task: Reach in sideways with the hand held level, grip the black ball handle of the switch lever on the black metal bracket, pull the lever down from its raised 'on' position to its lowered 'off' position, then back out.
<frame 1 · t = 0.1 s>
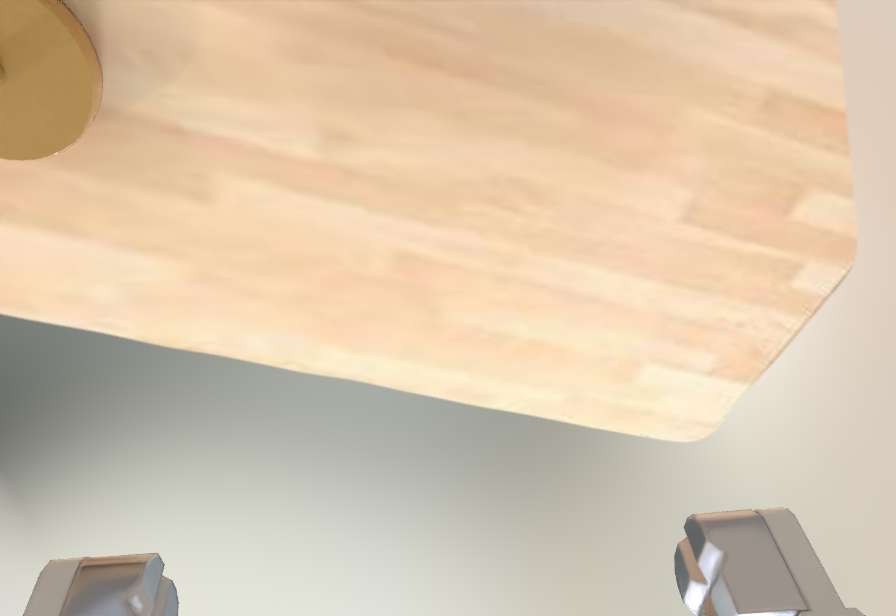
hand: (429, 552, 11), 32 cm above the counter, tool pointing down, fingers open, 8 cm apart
desk lamp: (0, 61, 37), on the counter
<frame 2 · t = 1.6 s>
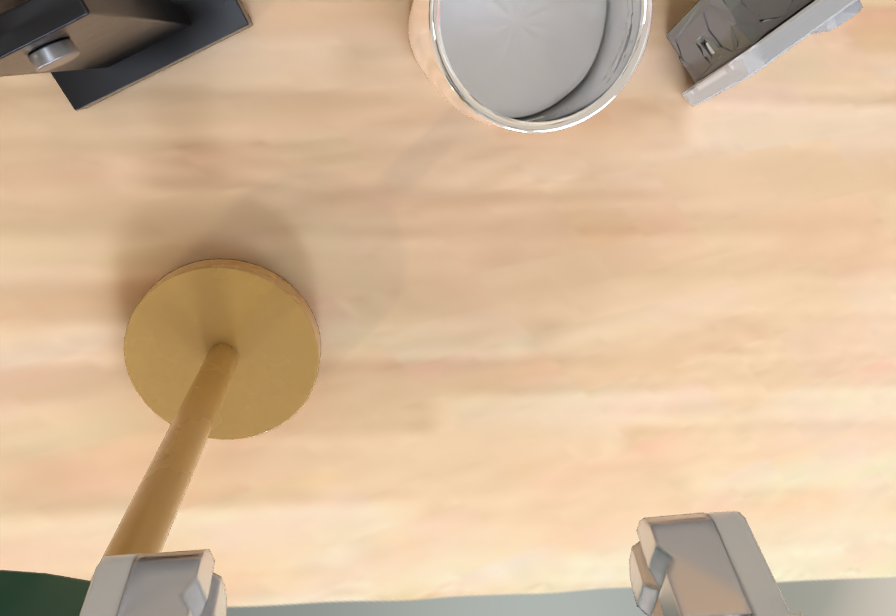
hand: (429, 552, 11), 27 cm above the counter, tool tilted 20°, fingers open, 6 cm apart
beer glass: (470, 29, 34), on the counter
electrical switch: (733, 9, 35), on the counter
desk lamp: (228, 346, 38), on the counter
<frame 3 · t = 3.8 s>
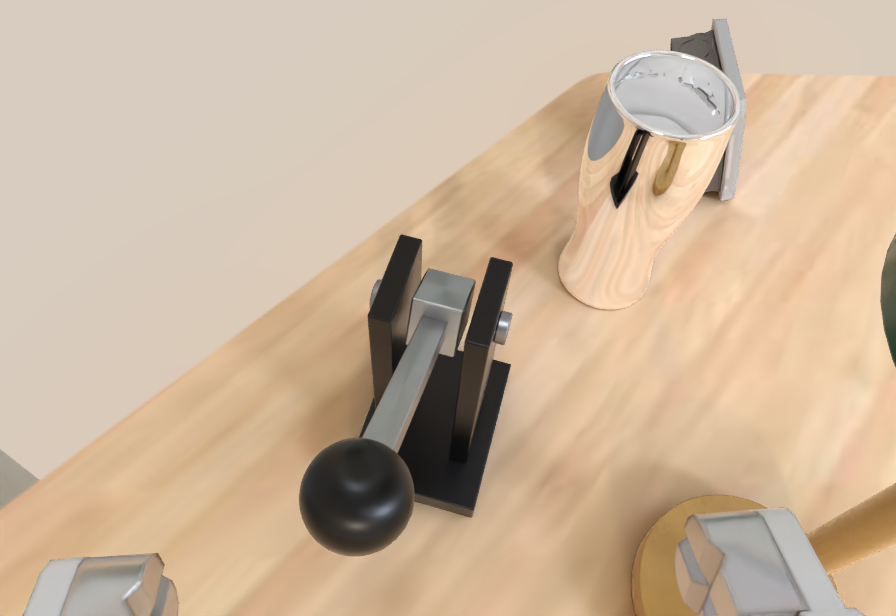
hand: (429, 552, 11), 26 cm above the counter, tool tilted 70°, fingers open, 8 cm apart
switch lever: (405, 389, 25), point 14 cm above the counter, hinge at 25.0°
beer glass: (602, 274, 47), on the counter
electrical switch: (686, 161, 53), on the counter
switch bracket: (432, 425, 40), on the counter
desk lamp: (728, 600, 36), on the counter
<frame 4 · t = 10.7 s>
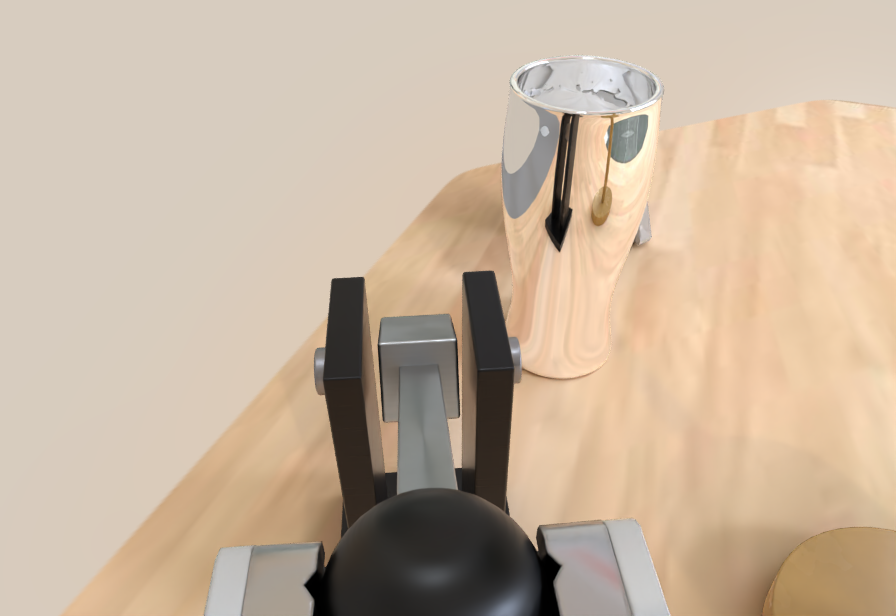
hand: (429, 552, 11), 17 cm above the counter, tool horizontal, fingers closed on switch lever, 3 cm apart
switch lever: (424, 448, 15), point 14 cm above the counter, hinge at 25.0°, touching gripper
beer glass: (555, 344, 40), on the counter
electrical switch: (586, 222, 50), on the counter
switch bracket: (429, 579, 28), on the counter
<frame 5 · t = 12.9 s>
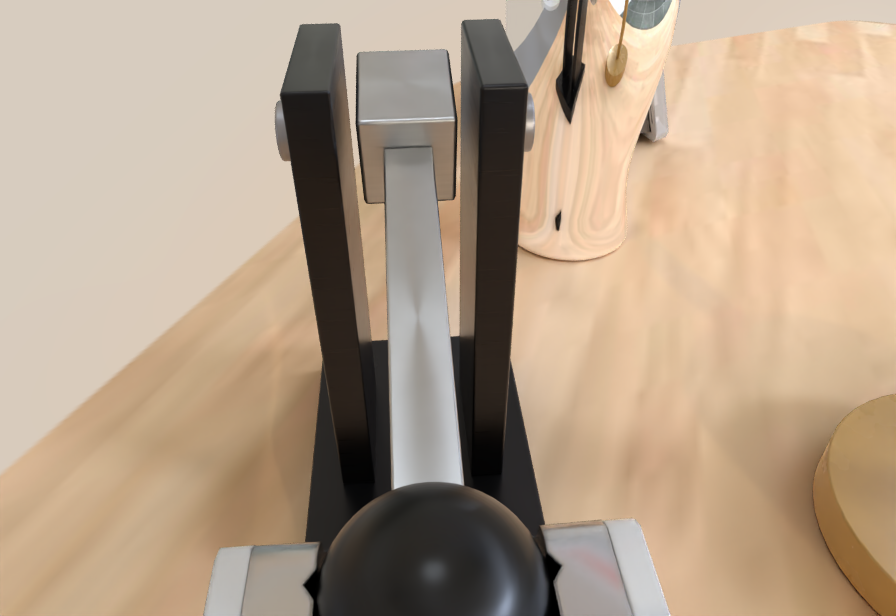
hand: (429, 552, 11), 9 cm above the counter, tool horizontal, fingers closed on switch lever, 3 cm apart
switch lever: (417, 310, 13), point 11 cm above the counter, hinge at -12.5°, touching gripper
beer glass: (564, 230, 36), on the counter
electrical switch: (596, 123, 46), on the counter
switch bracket: (421, 451, 24), on the counter
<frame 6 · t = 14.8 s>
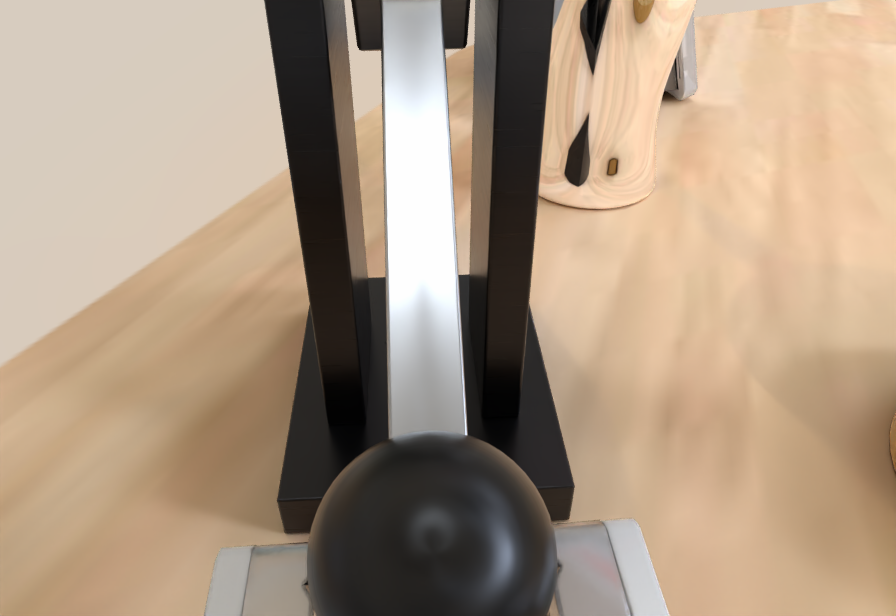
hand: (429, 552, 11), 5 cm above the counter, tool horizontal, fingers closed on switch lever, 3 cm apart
switch lever: (419, 210, 12), point 9 cm above the counter, hinge at -32.2°, touching gripper
beer glass: (586, 181, 32), on the counter
electrical switch: (618, 84, 42), on the counter
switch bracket: (423, 397, 21), on the counter
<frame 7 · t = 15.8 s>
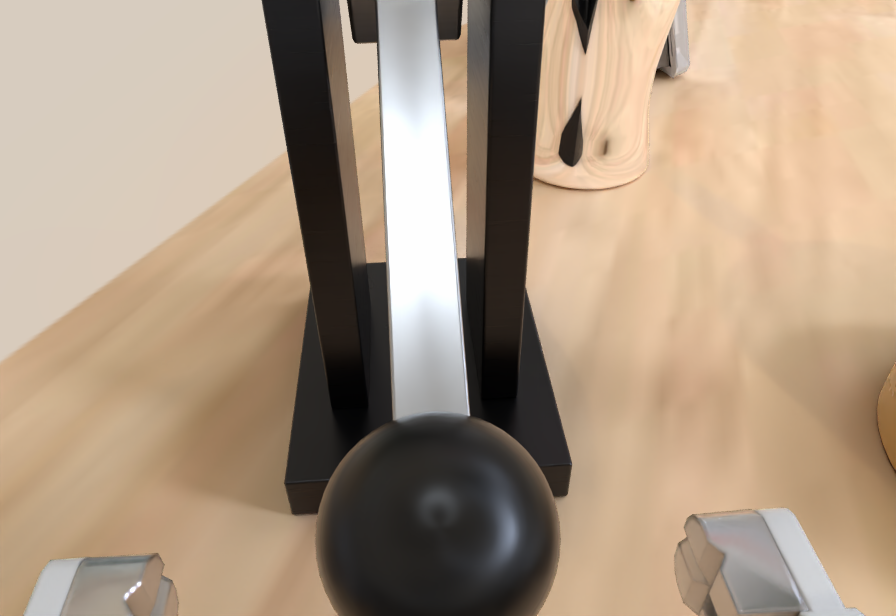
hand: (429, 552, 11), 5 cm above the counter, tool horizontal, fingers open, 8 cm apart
switch lever: (417, 197, 12), point 9 cm above the counter, hinge at -30.5°
beer glass: (580, 161, 32), on the counter
electrical switch: (611, 61, 42), on the counter
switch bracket: (423, 380, 21), on the counter
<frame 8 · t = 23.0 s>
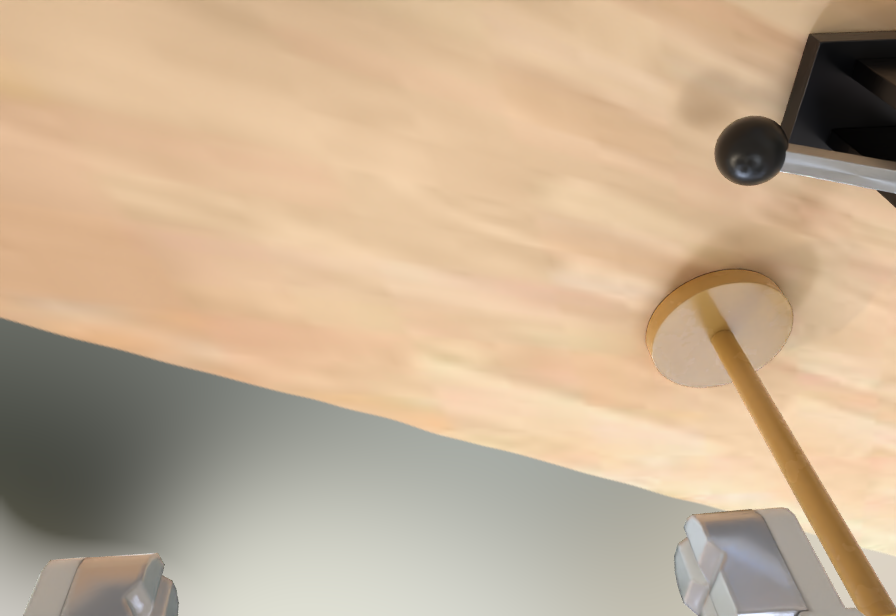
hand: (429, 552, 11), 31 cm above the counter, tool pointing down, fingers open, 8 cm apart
switch lever: (869, 173, 33), point 9 cm above the counter, hinge at -30.5°
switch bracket: (865, 93, 40), on the counter
desk lamp: (714, 324, 51), on the counter
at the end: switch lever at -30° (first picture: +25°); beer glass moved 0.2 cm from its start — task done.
